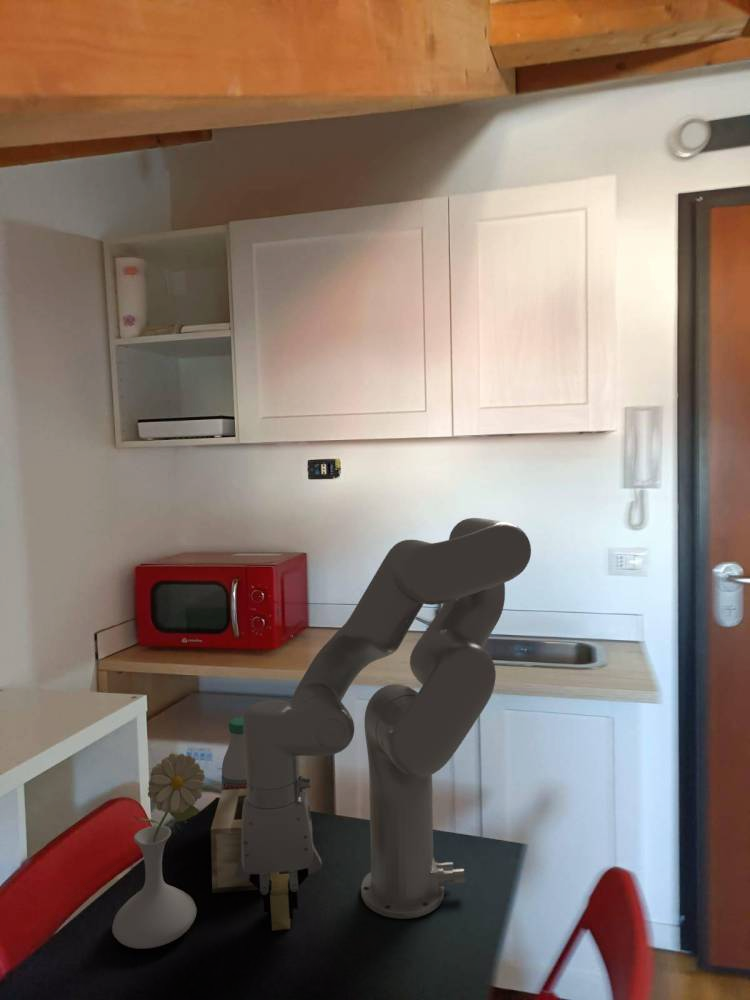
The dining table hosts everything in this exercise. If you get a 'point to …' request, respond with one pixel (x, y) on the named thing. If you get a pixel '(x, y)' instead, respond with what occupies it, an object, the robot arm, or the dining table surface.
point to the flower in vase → (158, 905)
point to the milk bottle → (235, 758)
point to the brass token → (280, 902)
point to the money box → (228, 843)
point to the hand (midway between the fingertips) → (281, 913)
